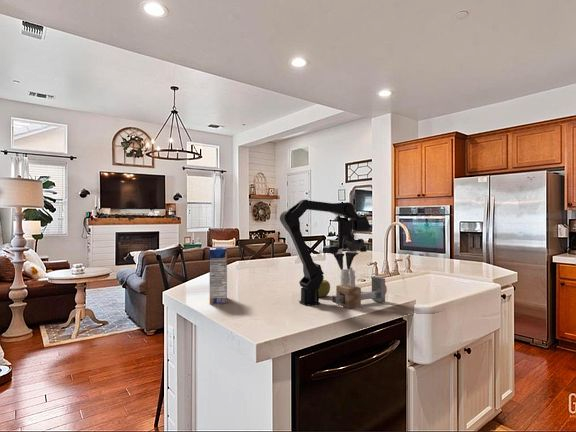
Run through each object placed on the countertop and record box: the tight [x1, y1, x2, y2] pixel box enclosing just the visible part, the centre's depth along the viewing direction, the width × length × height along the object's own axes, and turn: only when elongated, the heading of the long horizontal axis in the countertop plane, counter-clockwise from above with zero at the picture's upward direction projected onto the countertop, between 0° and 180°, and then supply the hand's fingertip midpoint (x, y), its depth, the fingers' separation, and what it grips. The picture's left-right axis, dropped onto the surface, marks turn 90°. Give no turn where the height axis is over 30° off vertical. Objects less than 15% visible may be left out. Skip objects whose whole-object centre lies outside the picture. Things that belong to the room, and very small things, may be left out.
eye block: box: [335, 284, 362, 309], centre depth 141 cm, size 6×8×8 cm
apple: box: [318, 279, 331, 298], centre depth 157 cm, size 8×8×7 cm
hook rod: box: [331, 275, 388, 304], centre depth 143 cm, size 24×6×10 cm, turn 116°
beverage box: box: [209, 246, 228, 305], centre depth 150 cm, size 7×11×22 cm, turn 11°
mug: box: [340, 266, 356, 286], centre depth 168 cm, size 8×12×12 cm, turn 5°
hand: (345, 269), depth 150 cm, fingers open, 3 cm apart
